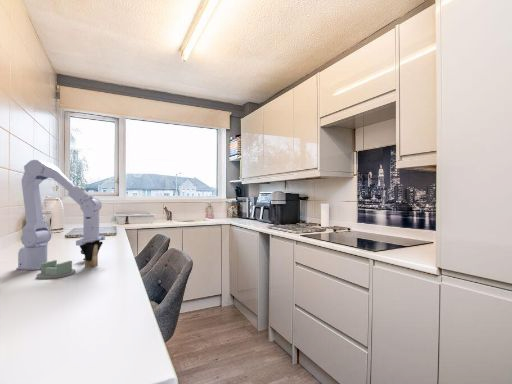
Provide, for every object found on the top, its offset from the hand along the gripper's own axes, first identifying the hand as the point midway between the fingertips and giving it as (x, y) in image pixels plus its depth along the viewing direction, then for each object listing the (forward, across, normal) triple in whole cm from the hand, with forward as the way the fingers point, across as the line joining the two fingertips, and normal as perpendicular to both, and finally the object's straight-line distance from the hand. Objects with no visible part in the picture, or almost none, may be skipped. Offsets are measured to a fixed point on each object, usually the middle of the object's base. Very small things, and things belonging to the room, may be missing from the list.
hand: (91, 259), depth 118 cm
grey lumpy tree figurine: (+3, +9, +9) cm, 13 cm away
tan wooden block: (+3, 0, 0) cm, 3 cm away
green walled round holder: (+3, -13, +4) cm, 14 cm away
